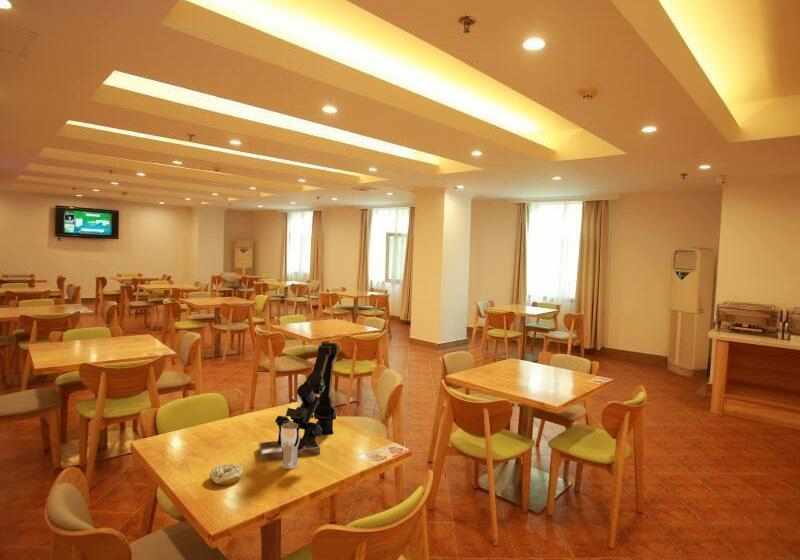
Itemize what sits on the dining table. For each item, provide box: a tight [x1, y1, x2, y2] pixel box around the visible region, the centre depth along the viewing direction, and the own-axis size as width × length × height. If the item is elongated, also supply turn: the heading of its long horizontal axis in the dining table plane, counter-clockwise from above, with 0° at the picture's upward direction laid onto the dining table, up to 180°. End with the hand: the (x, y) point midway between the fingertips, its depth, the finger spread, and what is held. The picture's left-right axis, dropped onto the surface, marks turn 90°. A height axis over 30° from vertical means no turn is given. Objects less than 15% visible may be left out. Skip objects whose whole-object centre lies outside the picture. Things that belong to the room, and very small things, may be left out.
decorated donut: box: [209, 463, 243, 486], centre depth 160 cm, size 10×11×4 cm
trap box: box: [258, 437, 321, 462], centre depth 183 cm, size 22×11×2 cm, turn 109°
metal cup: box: [281, 423, 301, 470], centre depth 171 cm, size 7×7×15 cm
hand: (288, 447), depth 169 cm, fingers open, 9 cm apart
